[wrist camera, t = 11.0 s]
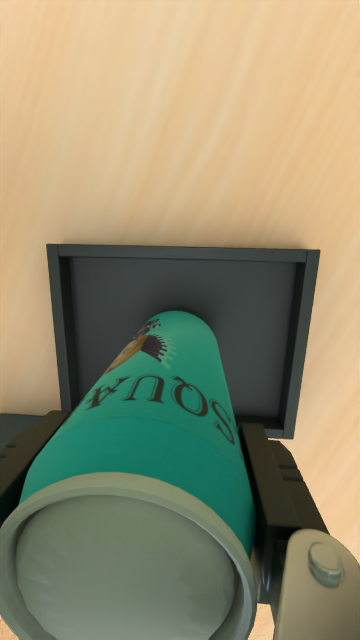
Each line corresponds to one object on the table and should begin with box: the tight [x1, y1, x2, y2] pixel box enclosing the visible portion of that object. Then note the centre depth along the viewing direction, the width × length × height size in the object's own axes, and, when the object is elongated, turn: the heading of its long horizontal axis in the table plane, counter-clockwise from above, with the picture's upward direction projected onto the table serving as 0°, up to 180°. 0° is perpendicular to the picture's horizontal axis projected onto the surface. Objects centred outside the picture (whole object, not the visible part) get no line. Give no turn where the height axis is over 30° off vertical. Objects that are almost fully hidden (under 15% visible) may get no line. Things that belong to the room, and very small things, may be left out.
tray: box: [46, 244, 320, 440], centre depth 19 cm, size 18×14×2 cm
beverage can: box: [0, 311, 257, 640], centre depth 12 cm, size 6×6×15 cm
